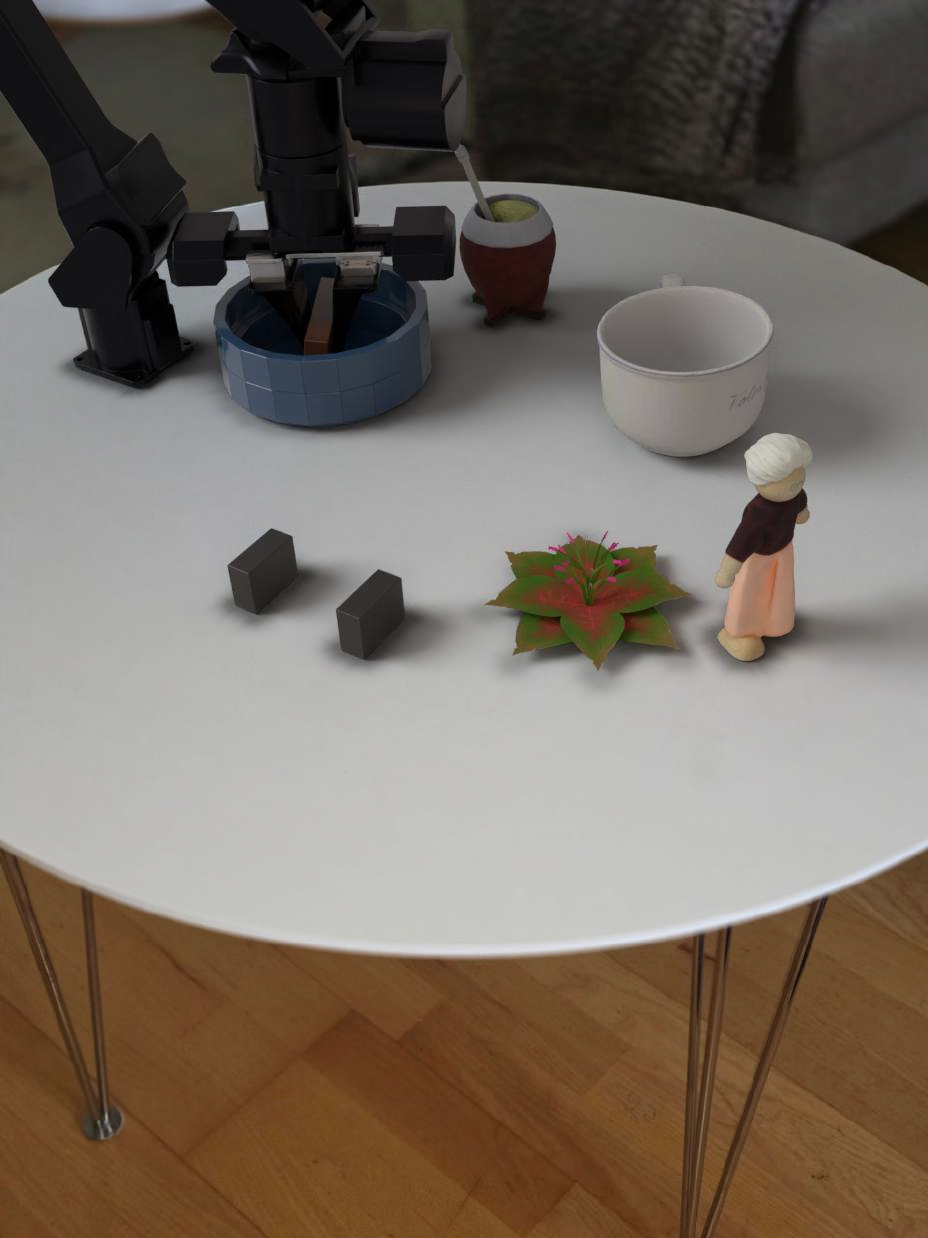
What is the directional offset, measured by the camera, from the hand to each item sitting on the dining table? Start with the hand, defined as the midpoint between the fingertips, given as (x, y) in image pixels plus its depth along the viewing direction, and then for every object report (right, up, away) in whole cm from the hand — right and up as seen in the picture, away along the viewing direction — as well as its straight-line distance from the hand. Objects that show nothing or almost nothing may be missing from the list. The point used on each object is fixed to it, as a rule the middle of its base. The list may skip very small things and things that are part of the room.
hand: (327, 357), depth 96 cm
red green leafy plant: (+17, -18, -19) cm, 31 cm away
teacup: (+24, -5, -5) cm, 25 cm away
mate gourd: (+13, +5, +7) cm, 15 cm away
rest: (+1, -18, -18) cm, 26 cm away
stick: (0, +2, -2) cm, 2 cm away
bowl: (0, -1, +1) cm, 1 cm away
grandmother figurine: (+26, -19, -21) cm, 38 cm away
